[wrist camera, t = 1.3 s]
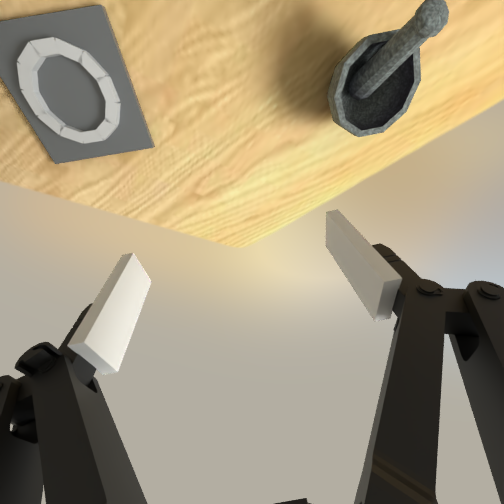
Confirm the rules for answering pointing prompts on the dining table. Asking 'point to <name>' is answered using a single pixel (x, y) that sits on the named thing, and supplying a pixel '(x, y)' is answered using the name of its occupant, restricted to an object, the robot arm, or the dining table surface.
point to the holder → (72, 84)
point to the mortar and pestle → (383, 73)
